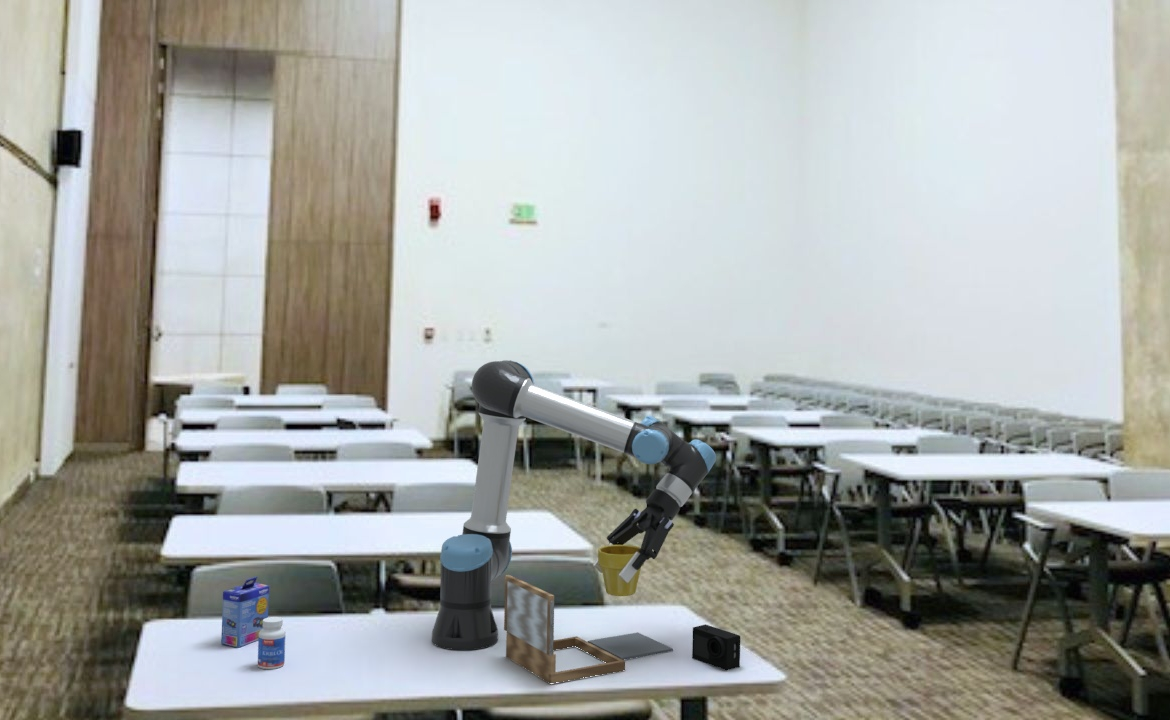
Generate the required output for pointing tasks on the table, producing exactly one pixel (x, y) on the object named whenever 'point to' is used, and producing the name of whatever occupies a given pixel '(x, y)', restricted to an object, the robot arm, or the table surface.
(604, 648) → the mat
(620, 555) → the plant pot
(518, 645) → the cold frame
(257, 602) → the ink cartridge box
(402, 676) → the table surface
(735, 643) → the digital camera
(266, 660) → the pill bottle
